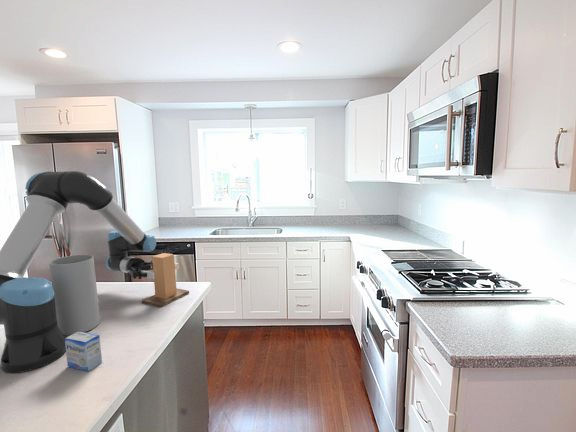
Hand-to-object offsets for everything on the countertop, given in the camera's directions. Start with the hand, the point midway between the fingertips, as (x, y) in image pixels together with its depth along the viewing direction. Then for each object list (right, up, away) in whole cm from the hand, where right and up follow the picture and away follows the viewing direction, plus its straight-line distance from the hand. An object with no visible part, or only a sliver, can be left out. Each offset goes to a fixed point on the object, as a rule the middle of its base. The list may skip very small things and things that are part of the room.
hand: (166, 270), depth 130 cm
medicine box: (-5, -19, -45) cm, 49 cm away
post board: (-1, -12, +2) cm, 12 cm away
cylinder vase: (-22, -16, -23) cm, 36 cm away
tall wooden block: (-1, -11, +2) cm, 11 cm away
